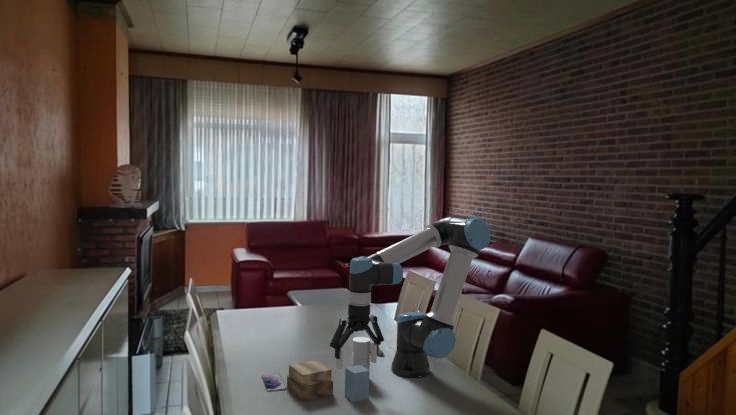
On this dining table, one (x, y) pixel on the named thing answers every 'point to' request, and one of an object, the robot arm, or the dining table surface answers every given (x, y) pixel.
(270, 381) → the smartphone
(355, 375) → the blue block
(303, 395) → the block
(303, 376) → the tower top
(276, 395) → the dining table surface
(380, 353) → the stone
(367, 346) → the candle
